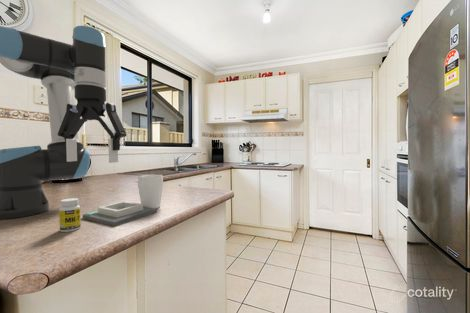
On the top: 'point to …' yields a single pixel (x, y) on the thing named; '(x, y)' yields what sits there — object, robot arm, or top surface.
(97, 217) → the dock
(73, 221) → the supplement bottle
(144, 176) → the cup
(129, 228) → the top surface
